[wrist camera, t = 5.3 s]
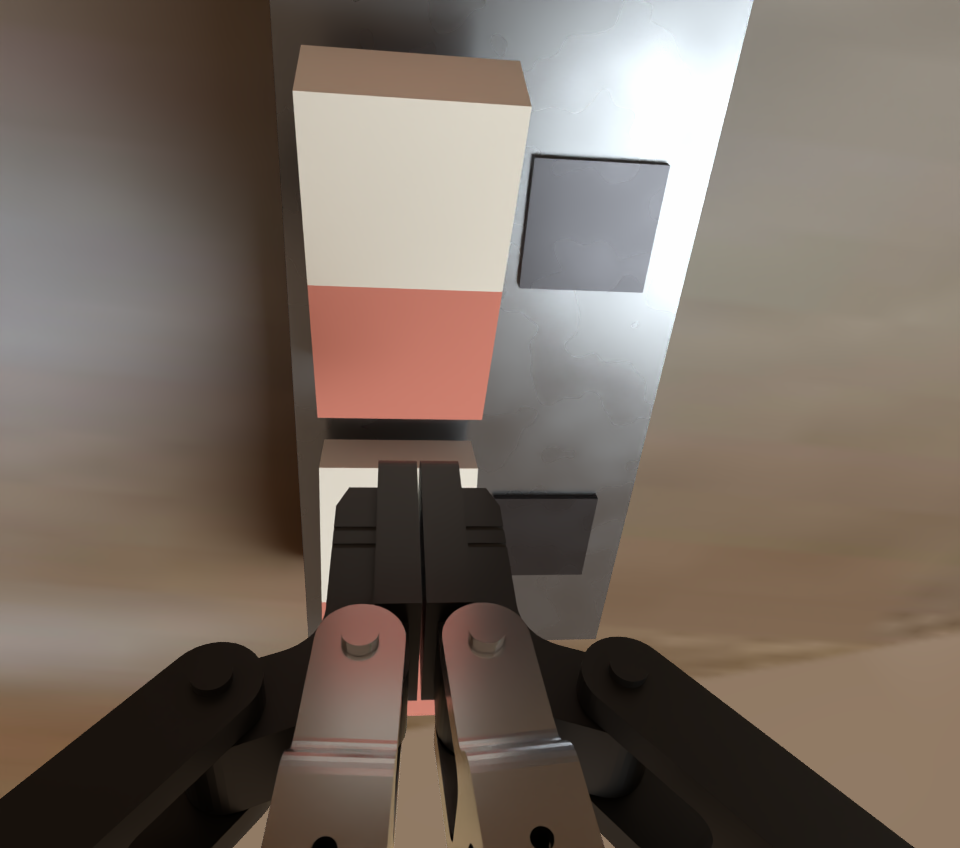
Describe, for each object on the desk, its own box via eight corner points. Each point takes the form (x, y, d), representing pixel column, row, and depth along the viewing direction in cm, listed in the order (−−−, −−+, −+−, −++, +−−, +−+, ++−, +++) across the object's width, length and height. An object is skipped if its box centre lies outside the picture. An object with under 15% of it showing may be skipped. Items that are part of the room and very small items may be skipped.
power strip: (820, -644, 14) (962, -821, 11) (573, 559, 31) (596, 642, 27) (254, -759, 13) (205, -1006, 9) (317, 561, 29) (308, 650, 26)
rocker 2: (470, 440, 21) (478, 468, 20) (456, 672, 24) (462, 713, 23) (324, 439, 21) (318, 468, 19) (328, 676, 24) (323, 719, 22)
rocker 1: (520, 60, 14) (532, 106, 13) (476, 368, 20) (482, 419, 19) (300, 45, 14) (292, 90, 13) (321, 365, 20) (317, 417, 19)
